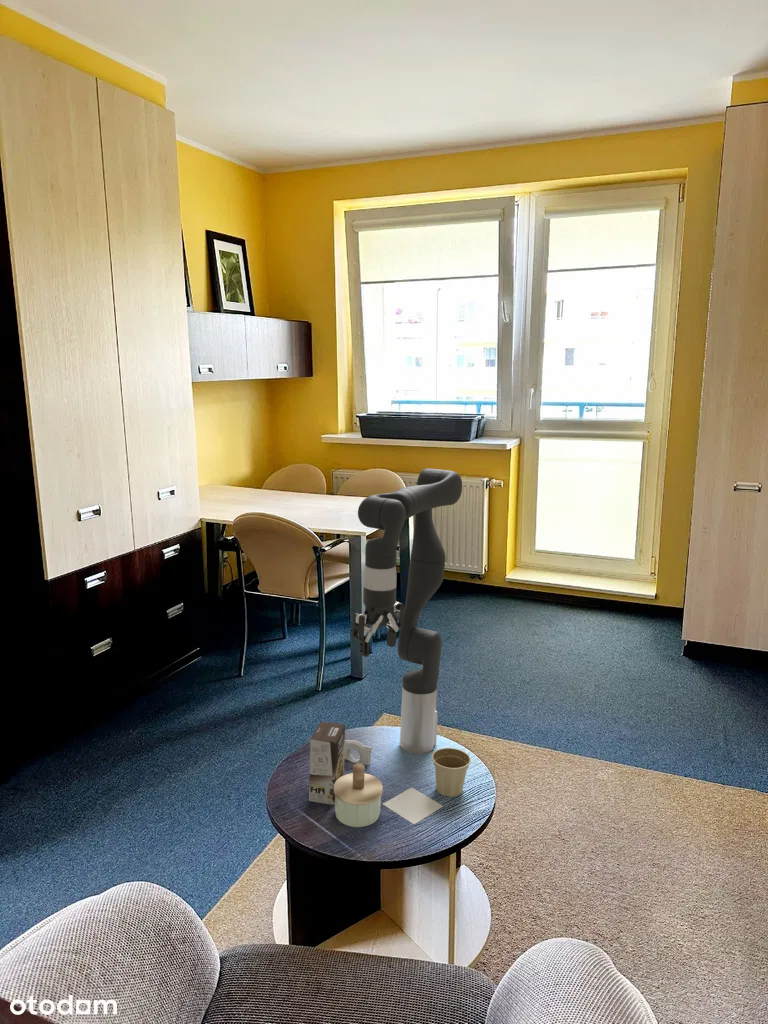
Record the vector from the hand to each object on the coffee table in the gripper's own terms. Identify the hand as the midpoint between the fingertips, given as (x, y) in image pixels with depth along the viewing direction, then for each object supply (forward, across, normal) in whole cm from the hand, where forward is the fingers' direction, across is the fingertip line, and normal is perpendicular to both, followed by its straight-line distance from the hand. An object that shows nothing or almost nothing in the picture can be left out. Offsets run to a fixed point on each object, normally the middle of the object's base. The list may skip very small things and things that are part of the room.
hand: (378, 650), depth 162 cm
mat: (+36, +1, -12) cm, 37 cm away
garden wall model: (+36, +4, +13) cm, 38 cm away
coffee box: (+36, -10, +6) cm, 37 cm away
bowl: (+35, -10, -5) cm, 37 cm away
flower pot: (+36, +13, -13) cm, 40 cm away
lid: (+29, -10, -5) cm, 31 cm away
